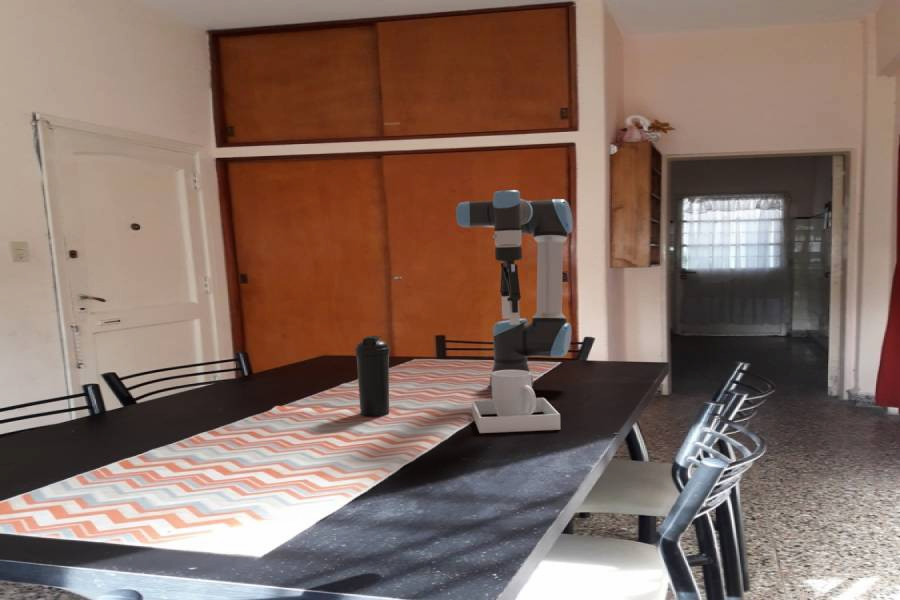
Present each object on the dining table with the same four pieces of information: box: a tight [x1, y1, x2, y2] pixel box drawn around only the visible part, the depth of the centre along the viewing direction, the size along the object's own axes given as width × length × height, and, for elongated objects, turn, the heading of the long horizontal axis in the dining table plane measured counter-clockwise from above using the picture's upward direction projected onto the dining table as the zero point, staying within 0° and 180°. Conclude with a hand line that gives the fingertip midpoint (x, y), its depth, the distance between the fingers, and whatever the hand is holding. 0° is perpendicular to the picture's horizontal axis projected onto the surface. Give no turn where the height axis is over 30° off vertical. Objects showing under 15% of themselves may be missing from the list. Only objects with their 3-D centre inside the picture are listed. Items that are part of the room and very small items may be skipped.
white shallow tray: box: [471, 397, 561, 434], centre depth 189 cm, size 21×21×4 cm
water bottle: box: [354, 335, 391, 418], centre depth 203 cm, size 10×10×23 cm
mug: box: [490, 370, 537, 417], centre depth 189 cm, size 15×11×13 cm
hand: (510, 321), depth 195 cm, fingers open, 13 cm apart
